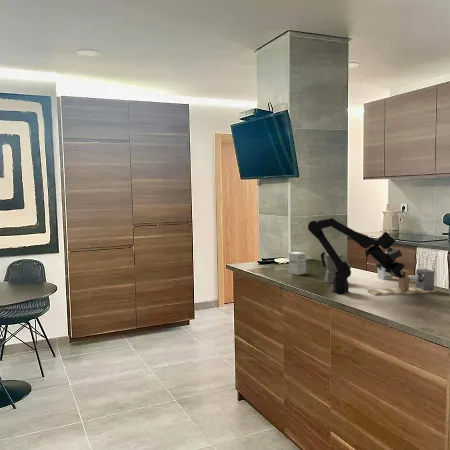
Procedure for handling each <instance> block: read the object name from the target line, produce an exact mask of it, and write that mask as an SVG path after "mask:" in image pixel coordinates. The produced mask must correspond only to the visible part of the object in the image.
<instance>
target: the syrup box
mask: <svg viewBox="0 0 450 450" xmlns="http://www.w3.org/2000/svg"><path fill="white" fill-rule="evenodd" d="M384 252H385V253H387V251H384ZM381 268H382V267H381ZM377 278H378V279H380V280H391V279H393V275H392V274H390V273H388V272H385V269H384V268H382V269H379V268H378V267H377Z"/></svg>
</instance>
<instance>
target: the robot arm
mask: <svg viewBox="0 0 450 450" xmlns="http://www.w3.org/2000/svg"><path fill="white" fill-rule="evenodd" d="M329 227H331V228H333V229H335V230H337V231H339V232H340V233H342V234H344V235H345V236H348V237H349V238H351V239H352V240H353V241H354V242H355V243H357V244H358V245H359V246H360V247H362V248H363V249H364V252H363V254H364V256H365V257H366V258H367V257H368V256H371V258H373V259H374V261H375V262H376V264H375V266H376V268H377V269H378V268H379V269H382V268H384V269H385V272H388V273H390V274H392V276H395V277H398V279H399V278H402V275H401V273H400V271H401V270H402V269H403V270H404V268H405V266H406V265H405V264H404V263H403V262H400V261H396V259H397V258H400V257H402V256H403V254H402V251H401V249H399V248H392V246H393V245H394V244H396V242H397V241H396V239H395V238H394V237H393V236H392V235H390V234H389V233H388V232H387V231H384V232H383V233H382V235H380V236H379V237H378V238H376V237H375V238H373V237H370V236H369V235H367V234H365V233H361V232H358V231H356V230H354V229H352V228H350V227H349V226H347V225H345V224H343V223H342V222H340V221H338V220H337V219H335V218H334V217H328V218H325V219H320V220H317V219H312V220H310V221H309V223H308V225H307V229H308V231H309V232H310V233H311V234H312V235H313V236H314V237H315V238H316V239H317V240H318V241H319V244H321V245H322V247H323V248H324V250H325V252H326V253H328V254H329V256H330V257H331V259H332V260H333V262H334V263H335V266H336V268H337V272H336V273H335V274H334V277H335V280H333V283H332V284H333V285H332V286H333V287H332V289H331V292H332V293H335V294H337V295H342V294H350V290H349V289H350V288H349V281H348V278H349V277H350V276H351V275H352V270H351V269H352V266H351V265H350V264H349V263H348V261H347V259H344V260H343V259H342V258H340V257H339V255H338V254H339V253H338V252H337V251H336V249H335V248H334V247H333V245H332V243H331V242H330V241H329V239H328V238H327V236H326V234H325V233H324V231H323V229H326V228H329ZM384 250H387V251H384ZM385 252H387V253H385ZM337 253H338V254H337ZM381 267H382V268H381Z"/></svg>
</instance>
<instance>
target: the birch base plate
mask: <svg viewBox="0 0 450 450" xmlns="http://www.w3.org/2000/svg"><path fill="white" fill-rule="evenodd" d="M367 293H369V294H371V295H373V296H390V295H391V296H393V295H407V294H408V295H409V294H410V295H412V294H425V293H426V294H428V293H429V294H430V293H432V294H433V293H436V290H435V289H434V290H426V291H424V290H421V289H419V288H416V286H412V287H411V286H409V290H403V289H401V288H399V287H396V288H395V287H394V288H393V287H392V288H377V289H376V288H373V289H367Z"/></svg>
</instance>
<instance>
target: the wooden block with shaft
mask: <svg viewBox="0 0 450 450" xmlns="http://www.w3.org/2000/svg"><path fill="white" fill-rule="evenodd" d="M400 273H401V275H402V278H399V277H398V288H401V289H403V290H409V287H410V282H416V281H422V279H423V275H415V274H413V275H412V274H410V271H408V270H406V269H404V268H403V269H402V270H401V271H400Z"/></svg>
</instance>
